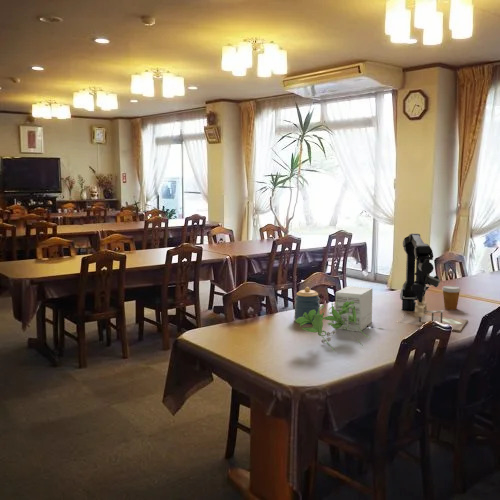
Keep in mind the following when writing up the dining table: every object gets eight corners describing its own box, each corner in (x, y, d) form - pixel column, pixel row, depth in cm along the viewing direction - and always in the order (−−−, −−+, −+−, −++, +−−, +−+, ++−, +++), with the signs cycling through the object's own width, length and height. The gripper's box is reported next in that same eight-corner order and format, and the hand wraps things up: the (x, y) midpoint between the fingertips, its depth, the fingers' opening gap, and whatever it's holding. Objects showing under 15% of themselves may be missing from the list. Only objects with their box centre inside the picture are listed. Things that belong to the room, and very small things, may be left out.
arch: (414, 316, 264) (415, 297, 263) (418, 312, 271) (418, 294, 270) (423, 317, 262) (423, 298, 261) (426, 313, 269) (427, 295, 268)
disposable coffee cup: (462, 310, 294) (463, 288, 293) (444, 310, 294) (445, 288, 293) (456, 306, 303) (456, 285, 302) (439, 306, 304) (439, 285, 302)
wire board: (395, 324, 266) (396, 310, 266) (407, 314, 285) (407, 302, 284) (460, 332, 251) (460, 317, 250) (467, 321, 270) (468, 308, 269)
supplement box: (347, 320, 275) (347, 285, 273) (372, 323, 268) (373, 288, 266) (334, 328, 260) (334, 291, 258) (360, 332, 253) (361, 294, 251)
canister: (290, 322, 272) (290, 288, 270) (300, 316, 283) (300, 283, 281) (314, 325, 266) (314, 290, 264) (323, 319, 277) (324, 285, 275)
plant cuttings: (366, 354, 241) (335, 318, 253) (386, 329, 232) (353, 292, 243) (313, 373, 218) (282, 332, 230) (333, 346, 209) (300, 304, 220)
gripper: (435, 274, 252) (434, 307, 254) (442, 269, 268) (441, 299, 270) (411, 272, 257) (410, 305, 259) (419, 267, 274) (418, 297, 275)
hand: (421, 301), depth 266 cm, fingers closed on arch, 2 cm apart
